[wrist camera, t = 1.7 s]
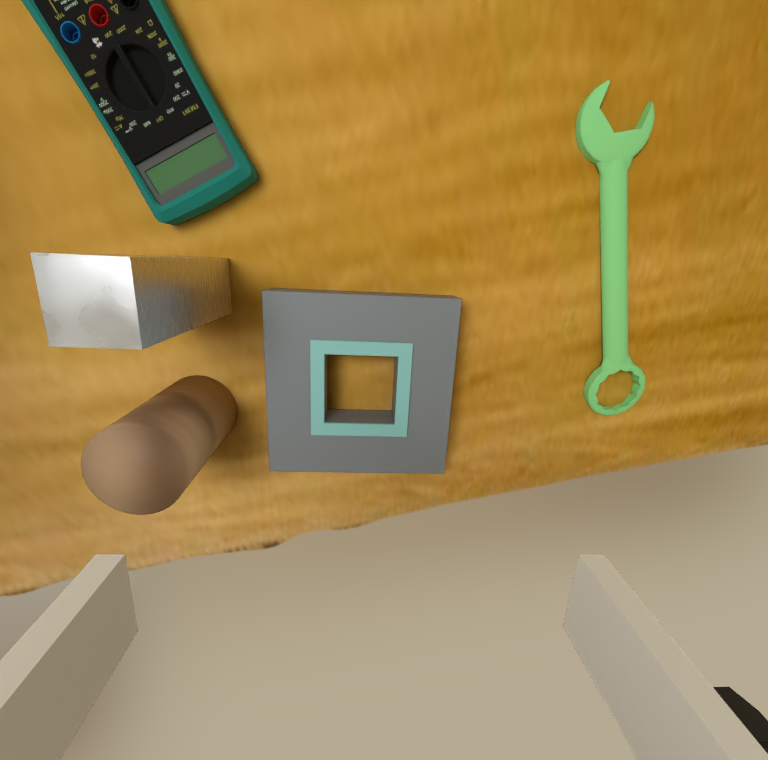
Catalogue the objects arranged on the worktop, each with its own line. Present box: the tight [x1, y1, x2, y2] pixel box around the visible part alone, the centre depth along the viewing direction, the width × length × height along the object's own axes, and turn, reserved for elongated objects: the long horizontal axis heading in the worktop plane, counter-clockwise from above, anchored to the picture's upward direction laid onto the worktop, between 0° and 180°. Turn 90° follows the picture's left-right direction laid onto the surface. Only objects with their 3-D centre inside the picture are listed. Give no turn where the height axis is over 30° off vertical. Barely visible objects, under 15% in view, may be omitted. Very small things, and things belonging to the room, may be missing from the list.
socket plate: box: [262, 288, 462, 474], centre depth 31 cm, size 14×14×3 cm
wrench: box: [576, 80, 654, 416], centre depth 31 cm, size 25×2×5 cm
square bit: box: [30, 252, 232, 349], centre depth 23 cm, size 4×4×13 cm
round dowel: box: [81, 375, 237, 515], centre depth 28 cm, size 6×6×10 cm
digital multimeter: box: [21, 0, 258, 225], centre depth 25 cm, size 7×15×3 cm, turn 26°
